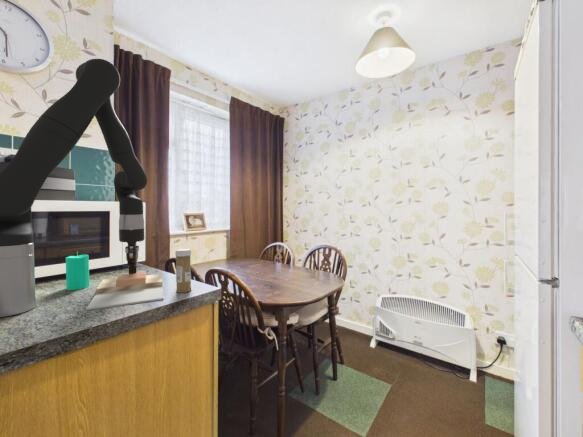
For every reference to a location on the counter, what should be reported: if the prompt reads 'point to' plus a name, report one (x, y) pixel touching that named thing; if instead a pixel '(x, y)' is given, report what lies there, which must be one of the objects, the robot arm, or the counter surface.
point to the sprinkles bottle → (183, 270)
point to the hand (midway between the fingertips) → (132, 276)
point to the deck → (110, 285)
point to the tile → (131, 279)
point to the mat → (126, 297)
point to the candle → (77, 272)
